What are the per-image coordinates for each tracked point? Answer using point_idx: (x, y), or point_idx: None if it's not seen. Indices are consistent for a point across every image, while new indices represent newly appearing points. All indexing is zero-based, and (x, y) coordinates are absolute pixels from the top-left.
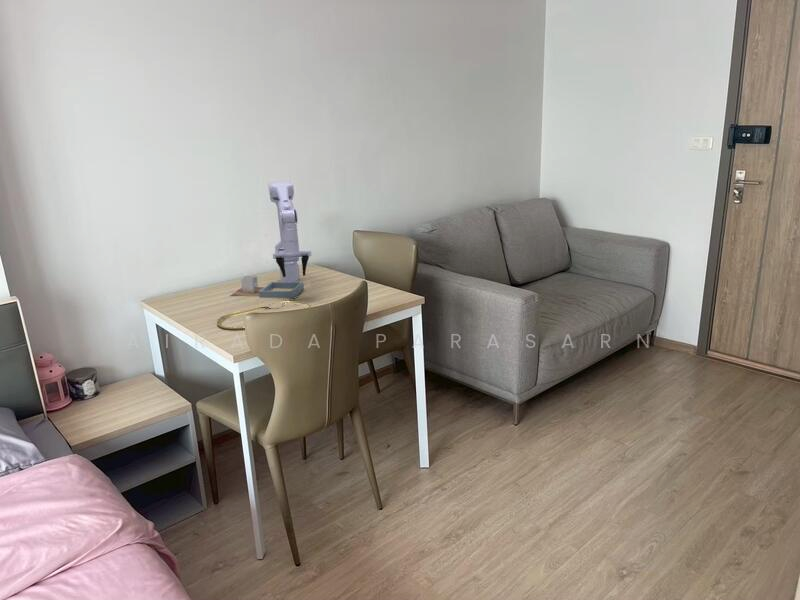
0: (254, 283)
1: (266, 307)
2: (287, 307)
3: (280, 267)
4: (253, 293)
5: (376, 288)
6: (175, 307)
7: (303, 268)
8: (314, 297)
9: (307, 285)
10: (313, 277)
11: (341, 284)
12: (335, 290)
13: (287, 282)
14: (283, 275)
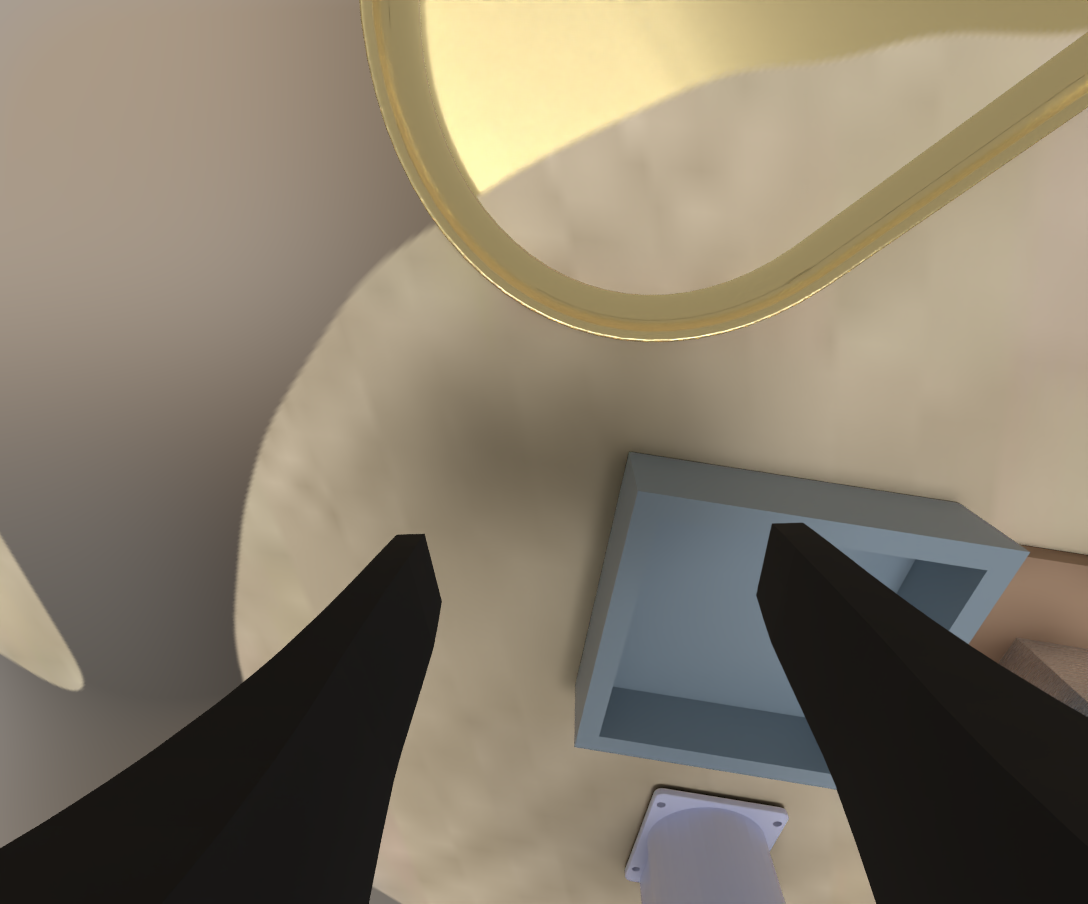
0: None
1: (911, 191)
2: (659, 207)
3: (1010, 684)
4: (1022, 632)
5: (49, 643)
6: None
7: (334, 629)
8: (448, 504)
9: (568, 771)
10: (557, 889)
11: None
12: None
13: (717, 760)
14: (814, 538)
